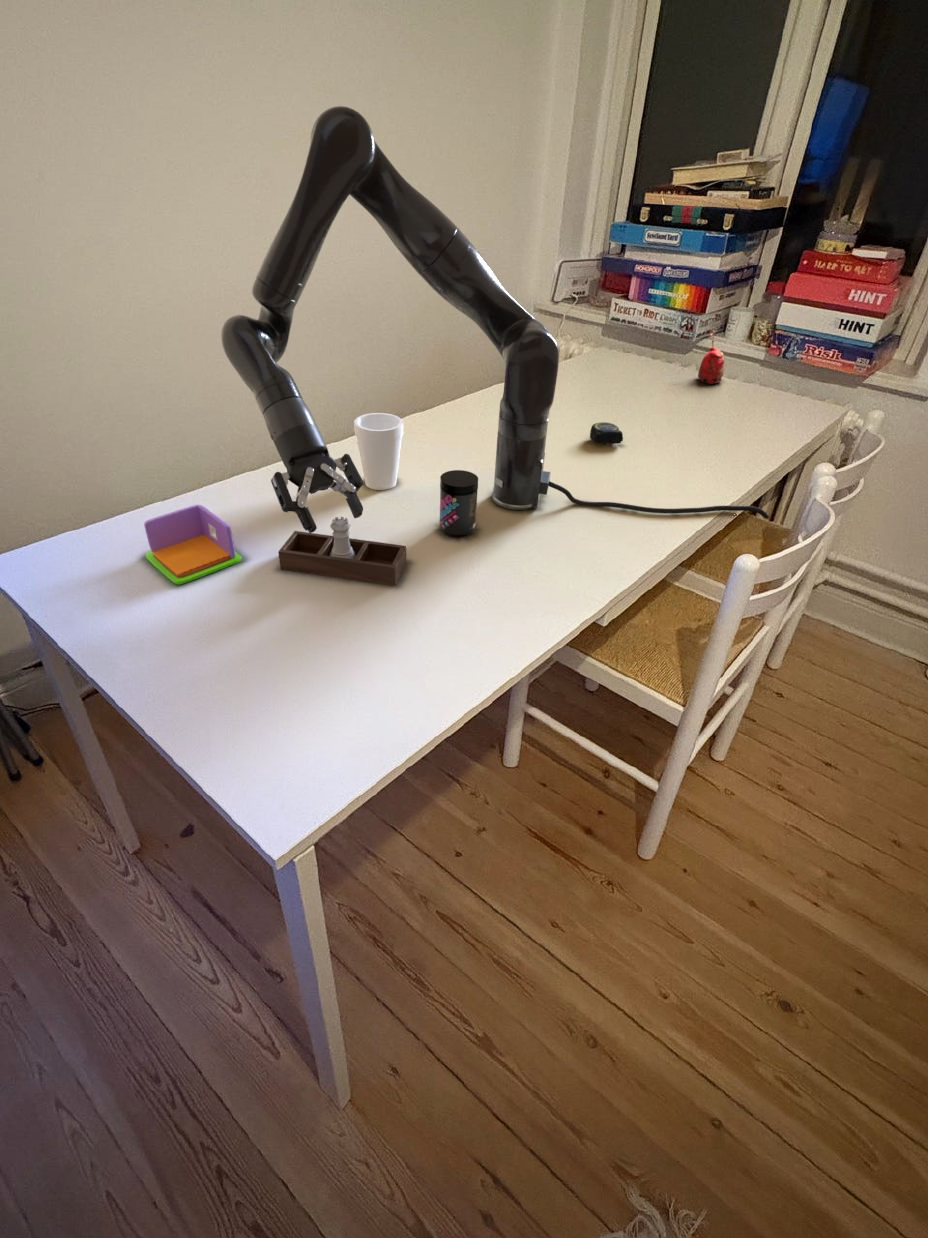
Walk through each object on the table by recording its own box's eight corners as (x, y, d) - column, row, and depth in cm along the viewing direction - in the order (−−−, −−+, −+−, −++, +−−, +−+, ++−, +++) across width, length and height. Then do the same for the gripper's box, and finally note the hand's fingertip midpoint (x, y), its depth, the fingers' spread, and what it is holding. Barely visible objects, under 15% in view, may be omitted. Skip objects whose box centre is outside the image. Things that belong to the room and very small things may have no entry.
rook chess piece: (361, 558, 117) (358, 516, 112) (349, 572, 114) (346, 529, 109) (337, 553, 118) (334, 511, 114) (324, 566, 115) (320, 523, 110)
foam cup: (396, 496, 138) (394, 433, 130) (351, 490, 139) (347, 427, 131) (408, 476, 145) (408, 415, 137) (366, 470, 146) (363, 410, 139)
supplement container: (440, 519, 131) (442, 468, 124) (476, 522, 130) (479, 471, 124) (437, 537, 125) (438, 485, 119) (474, 540, 125) (477, 488, 119)
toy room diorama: (209, 533, 123) (202, 498, 119) (244, 560, 117) (238, 524, 112) (143, 556, 116) (133, 520, 112) (176, 586, 110) (167, 549, 105)
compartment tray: (296, 548, 120) (294, 530, 118) (406, 563, 118) (406, 545, 116) (280, 569, 115) (278, 551, 113) (395, 586, 112) (395, 567, 110)
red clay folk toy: (716, 386, 202) (730, 332, 193) (692, 381, 205) (705, 328, 196) (723, 380, 207) (737, 327, 198) (700, 375, 210) (713, 323, 201)
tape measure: (593, 447, 162) (596, 432, 159) (585, 436, 167) (588, 421, 165) (621, 447, 162) (624, 432, 160) (612, 435, 168) (615, 421, 166)
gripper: (259, 432, 106) (304, 528, 106) (340, 413, 113) (381, 503, 113) (249, 453, 112) (291, 543, 112) (326, 434, 120) (365, 519, 120)
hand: (336, 523), depth 113 cm, fingers open, 8 cm apart
